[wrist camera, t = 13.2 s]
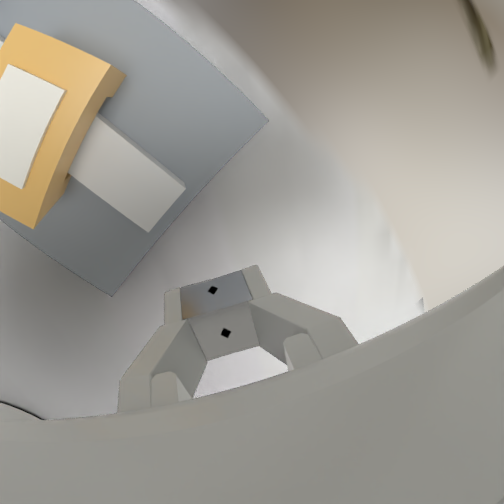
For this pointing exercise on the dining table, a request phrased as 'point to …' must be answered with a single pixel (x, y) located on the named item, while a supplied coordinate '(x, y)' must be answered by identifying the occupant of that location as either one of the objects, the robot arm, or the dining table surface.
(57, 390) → the dining table surface
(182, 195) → the backplate
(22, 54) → the module
